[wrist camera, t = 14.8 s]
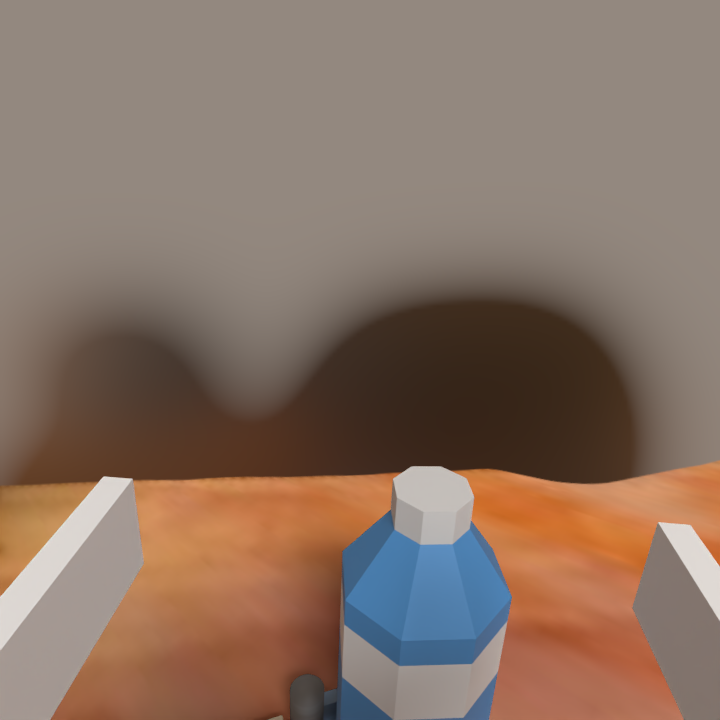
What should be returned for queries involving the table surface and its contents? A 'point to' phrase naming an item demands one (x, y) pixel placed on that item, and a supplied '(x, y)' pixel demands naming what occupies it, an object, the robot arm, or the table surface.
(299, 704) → the frame
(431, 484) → the water bottle
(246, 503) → the table surface
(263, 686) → the table surface
